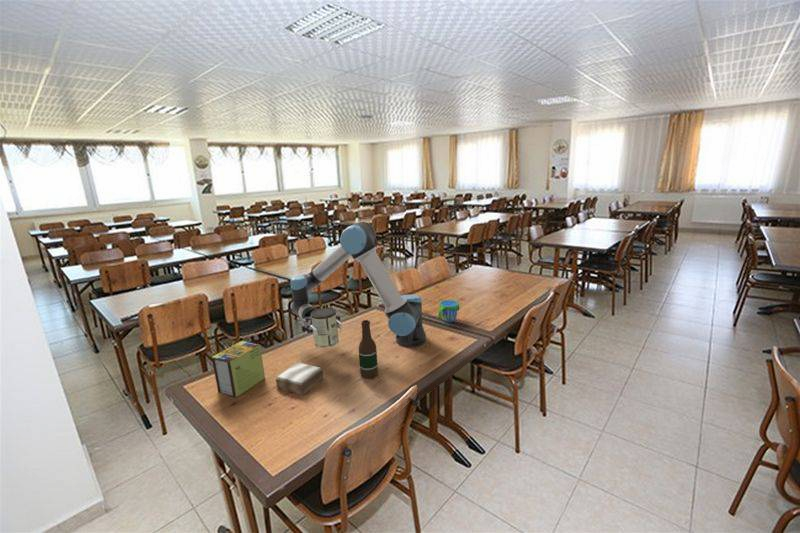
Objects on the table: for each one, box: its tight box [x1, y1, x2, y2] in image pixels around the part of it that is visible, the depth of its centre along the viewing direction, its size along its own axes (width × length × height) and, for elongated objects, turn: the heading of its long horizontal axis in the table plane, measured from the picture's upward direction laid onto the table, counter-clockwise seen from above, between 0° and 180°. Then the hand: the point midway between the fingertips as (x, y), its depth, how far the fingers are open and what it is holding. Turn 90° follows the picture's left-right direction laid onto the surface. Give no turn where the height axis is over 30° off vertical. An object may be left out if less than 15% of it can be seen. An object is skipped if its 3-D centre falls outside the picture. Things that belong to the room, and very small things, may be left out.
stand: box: [275, 362, 324, 396], centre depth 151 cm, size 13×13×5 cm
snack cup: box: [437, 299, 460, 323], centre depth 206 cm, size 16×10×10 cm
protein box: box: [211, 340, 266, 398], centre depth 150 cm, size 10×15×16 cm
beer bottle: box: [358, 319, 379, 380], centre depth 153 cm, size 8×8×24 cm
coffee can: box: [311, 307, 340, 349], centre depth 157 cm, size 10×10×14 cm
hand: (329, 329), depth 154 cm, fingers closed on coffee can, 10 cm apart
